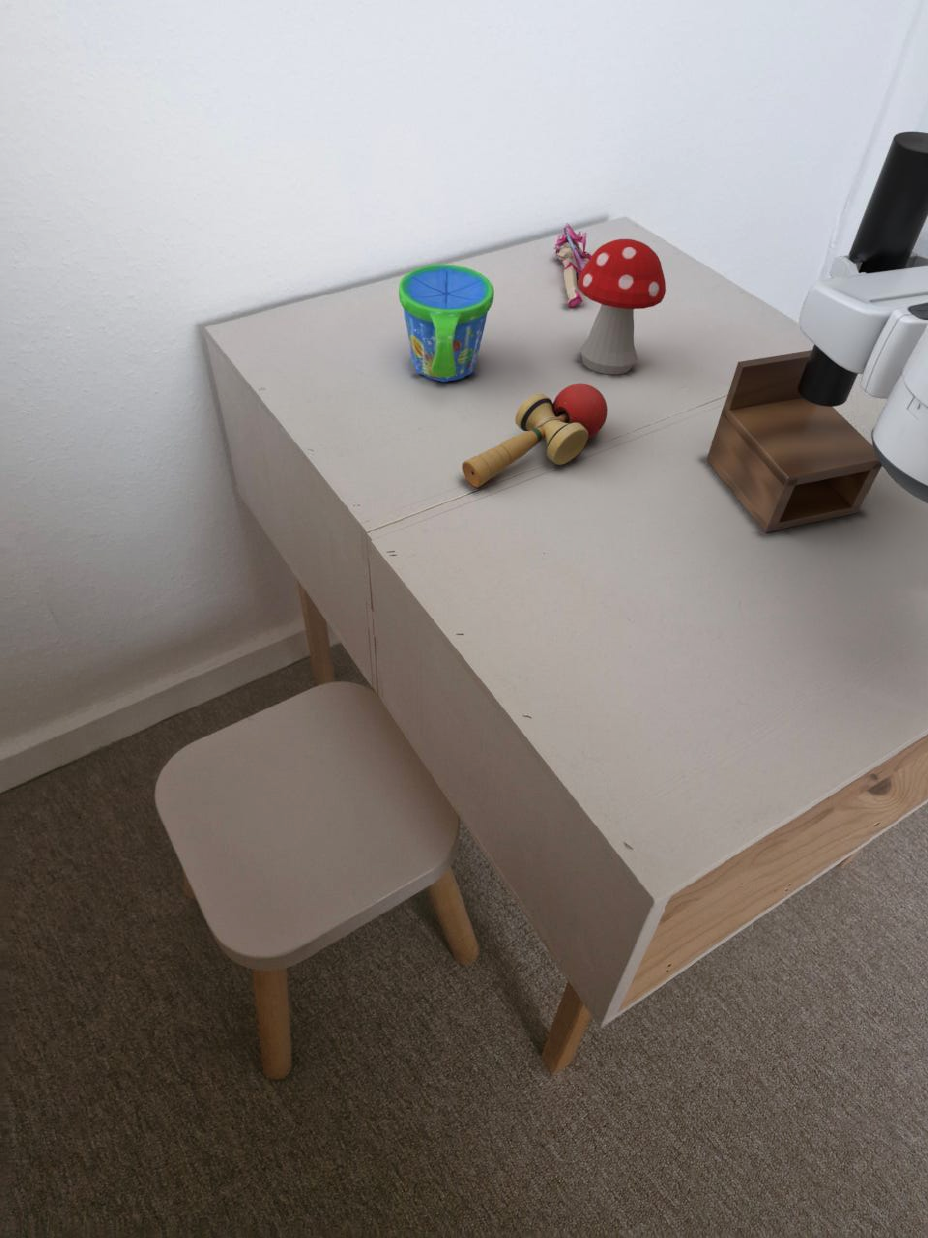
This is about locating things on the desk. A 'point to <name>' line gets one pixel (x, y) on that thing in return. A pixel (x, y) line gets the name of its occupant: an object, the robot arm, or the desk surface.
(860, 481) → the shelf
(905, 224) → the cylinder
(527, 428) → the kendama
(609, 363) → the decorative mushroom
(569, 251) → the toy
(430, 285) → the snack cup
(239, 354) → the desk surface
